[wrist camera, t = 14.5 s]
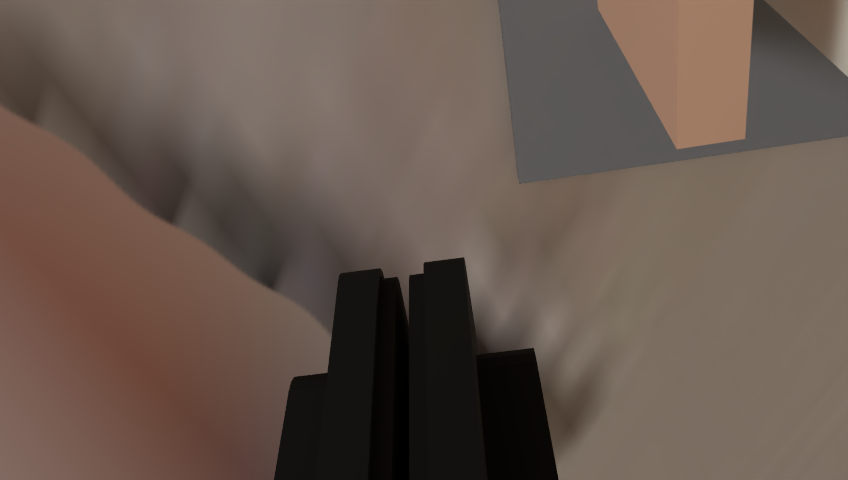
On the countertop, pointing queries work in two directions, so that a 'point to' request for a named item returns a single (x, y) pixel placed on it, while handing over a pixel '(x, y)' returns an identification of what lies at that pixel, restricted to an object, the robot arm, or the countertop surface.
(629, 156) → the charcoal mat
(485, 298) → the countertop surface
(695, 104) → the terracotta tile
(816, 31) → the ivory tile
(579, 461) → the countertop surface
